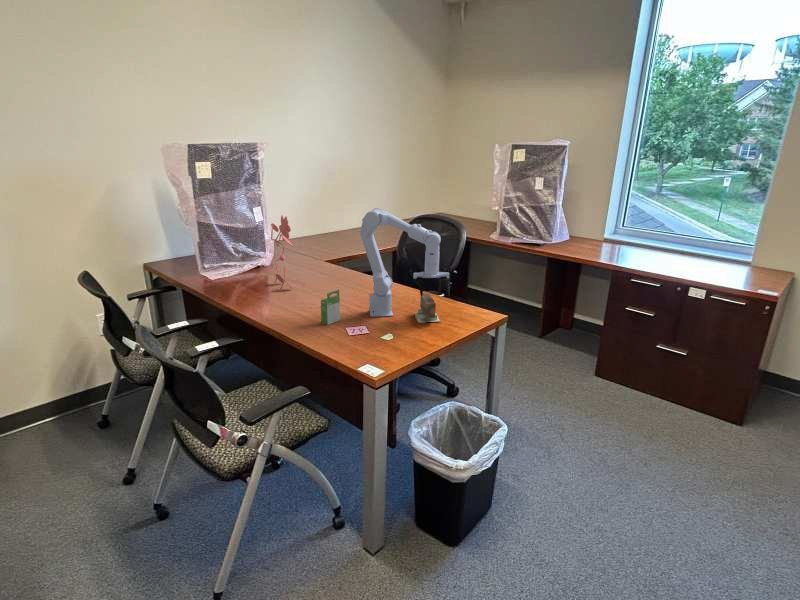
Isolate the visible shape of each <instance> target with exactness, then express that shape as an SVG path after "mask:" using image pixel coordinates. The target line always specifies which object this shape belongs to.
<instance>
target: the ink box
mask: <svg viewBox="0 0 800 600" xmlns="http://www.w3.org/2000/svg"><path fill="white" fill-rule="evenodd" d="M333 294H336V295H333ZM332 295H333V296H332ZM340 298H341V297H340V289H337V290H333V291H330V292H328V293H327V294H326V298H323V299H320V315H321V316H320V318H321V319H320V322H321V324H323V325H326V326H327V325H328V326H329V325H332V324H334V323H337V322H339V321H340V322H341V311H340V309H341V307H340V306H341V305H340V304H341V303H340Z"/></svg>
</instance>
